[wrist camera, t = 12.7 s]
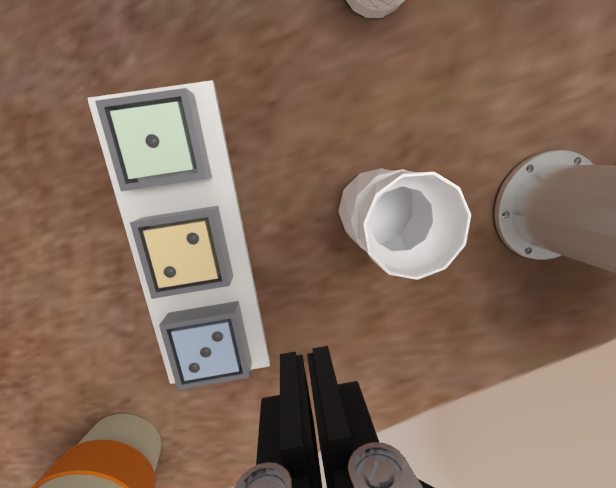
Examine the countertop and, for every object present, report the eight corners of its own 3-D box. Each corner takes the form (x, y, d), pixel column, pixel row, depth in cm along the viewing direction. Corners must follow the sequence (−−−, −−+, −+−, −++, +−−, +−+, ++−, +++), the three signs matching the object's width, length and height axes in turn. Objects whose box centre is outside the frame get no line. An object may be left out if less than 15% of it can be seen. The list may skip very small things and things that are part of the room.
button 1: (185, 105, 32) (177, 101, 30) (199, 168, 34) (192, 169, 31) (122, 114, 32) (109, 111, 30) (139, 177, 34) (128, 179, 31)
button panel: (214, 82, 34) (206, 72, 30) (270, 361, 42) (269, 382, 38) (93, 99, 33) (68, 91, 29) (172, 378, 41) (161, 401, 37)
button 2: (210, 217, 35) (204, 221, 33) (221, 270, 37) (217, 278, 34) (152, 226, 35) (142, 231, 32) (166, 279, 36) (158, 288, 34)
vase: (413, 241, 39) (469, 275, 28) (339, 247, 39) (364, 285, 27) (413, 164, 37) (474, 166, 26) (335, 170, 37) (361, 175, 25)
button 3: (231, 312, 38) (227, 322, 35) (241, 358, 39) (238, 371, 37) (178, 321, 38) (170, 332, 35) (190, 367, 39) (184, 381, 37)
